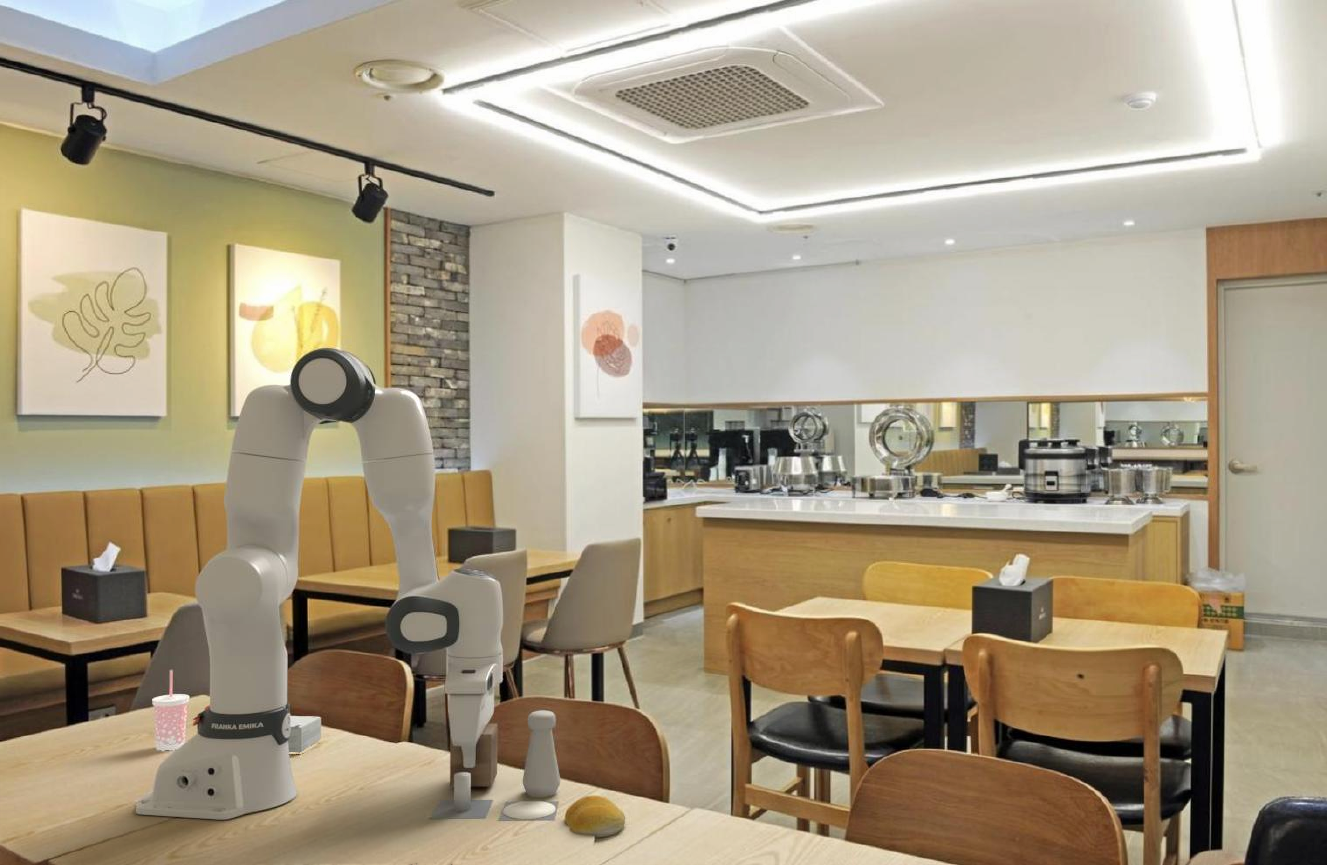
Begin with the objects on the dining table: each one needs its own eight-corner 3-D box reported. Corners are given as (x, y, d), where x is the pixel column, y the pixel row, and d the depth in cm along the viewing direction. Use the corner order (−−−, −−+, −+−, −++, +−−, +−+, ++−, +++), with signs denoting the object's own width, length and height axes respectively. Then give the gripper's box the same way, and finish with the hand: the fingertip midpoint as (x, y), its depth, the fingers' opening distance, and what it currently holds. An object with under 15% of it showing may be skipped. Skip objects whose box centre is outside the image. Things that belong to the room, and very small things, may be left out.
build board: (498, 824, 145) (498, 819, 145) (505, 805, 153) (505, 800, 153) (554, 823, 145) (554, 818, 145) (558, 805, 153) (558, 799, 153)
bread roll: (576, 843, 138) (576, 813, 139) (560, 821, 147) (560, 793, 147) (634, 835, 141) (634, 806, 142) (614, 814, 150) (614, 787, 150)
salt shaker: (553, 804, 154) (553, 717, 154) (517, 801, 155) (517, 715, 155) (564, 791, 159) (565, 708, 160) (530, 789, 161) (530, 706, 161)
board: (429, 822, 146) (429, 783, 146) (440, 803, 154) (440, 766, 154) (485, 822, 146) (485, 782, 146) (493, 803, 154) (493, 766, 154)
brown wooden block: (449, 786, 158) (450, 734, 158) (457, 773, 164) (457, 723, 164) (491, 786, 158) (491, 734, 158) (497, 773, 164) (497, 723, 164)
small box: (282, 742, 188) (282, 714, 189) (322, 744, 187) (322, 715, 187) (259, 754, 181) (259, 725, 181) (301, 756, 180) (301, 726, 180)
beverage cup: (178, 752, 181) (179, 673, 182) (144, 752, 181) (145, 673, 182) (195, 742, 187) (195, 666, 188) (162, 742, 187) (163, 666, 188)
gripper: (465, 658, 172) (465, 741, 171) (442, 685, 151) (441, 778, 151) (503, 658, 172) (502, 741, 171) (484, 685, 151) (484, 778, 151)
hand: (474, 759), depth 161 cm, fingers closed on brown wooden block, 6 cm apart
